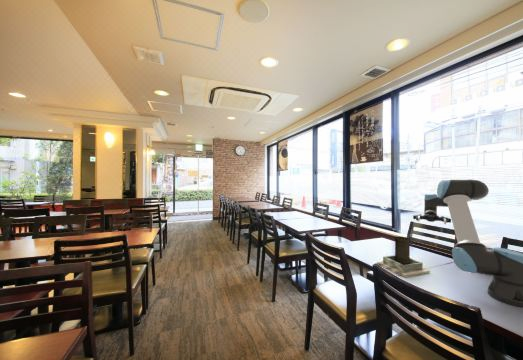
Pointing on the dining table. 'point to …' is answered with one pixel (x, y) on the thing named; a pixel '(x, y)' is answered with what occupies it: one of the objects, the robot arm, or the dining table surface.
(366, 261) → the dining table surface
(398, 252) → the container
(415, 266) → the collar board
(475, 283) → the dining table surface
